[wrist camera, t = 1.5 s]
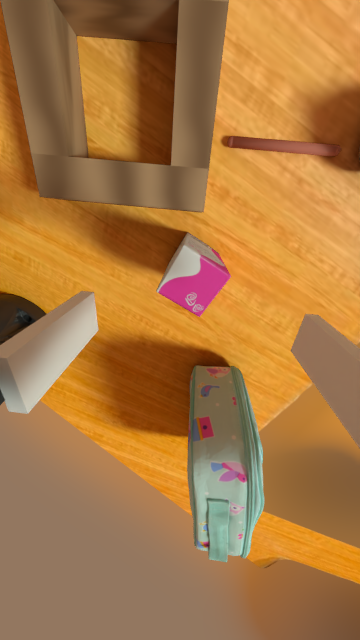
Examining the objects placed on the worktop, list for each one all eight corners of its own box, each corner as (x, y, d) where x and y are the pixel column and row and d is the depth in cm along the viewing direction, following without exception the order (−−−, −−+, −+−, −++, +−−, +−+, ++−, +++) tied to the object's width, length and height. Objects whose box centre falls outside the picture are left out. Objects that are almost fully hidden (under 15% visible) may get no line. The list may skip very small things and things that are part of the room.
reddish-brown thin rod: (226, 148, 25) (227, 145, 24) (227, 137, 24) (229, 134, 23) (335, 157, 24) (340, 155, 23) (338, 147, 24) (344, 144, 23)
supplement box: (166, 266, 31) (153, 291, 21) (187, 231, 29) (184, 239, 19) (197, 286, 33) (199, 318, 22) (220, 254, 30) (234, 273, 20)
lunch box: (236, 442, 50) (262, 582, 31) (194, 442, 51) (194, 578, 32) (241, 353, 38) (289, 492, 19) (186, 355, 39) (179, 489, 20)
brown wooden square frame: (64, 199, 28) (39, 196, 24) (28, -32, 19) (-21, -106, 15) (201, 212, 28) (203, 211, 23) (228, -18, 19) (239, -88, 15)
